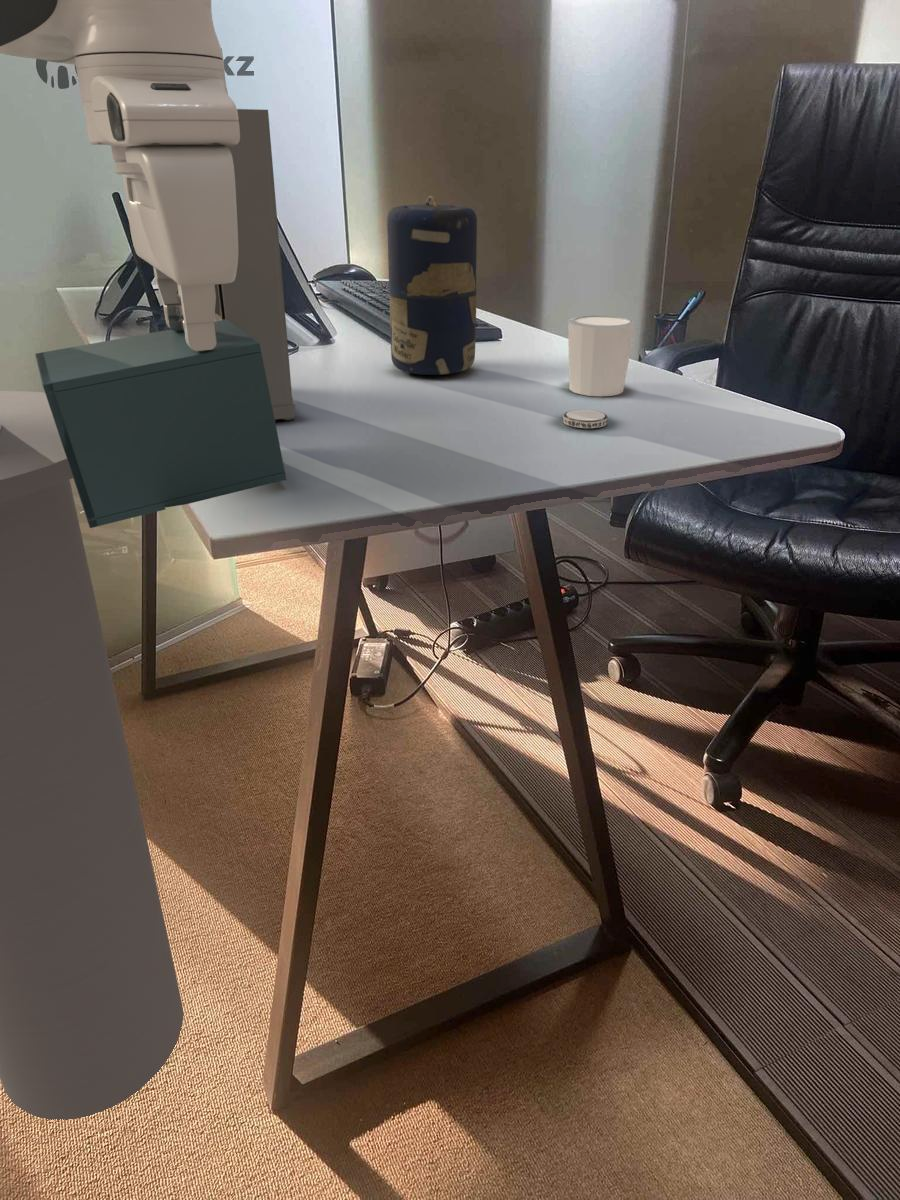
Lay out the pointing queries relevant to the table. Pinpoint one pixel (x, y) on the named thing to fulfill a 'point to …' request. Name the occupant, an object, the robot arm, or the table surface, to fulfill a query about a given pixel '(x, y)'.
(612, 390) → the cream cup
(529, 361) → the table surface
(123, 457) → the dark green lidded box
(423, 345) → the canister
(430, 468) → the table surface
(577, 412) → the washi tape
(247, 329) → the beige tall upright block
